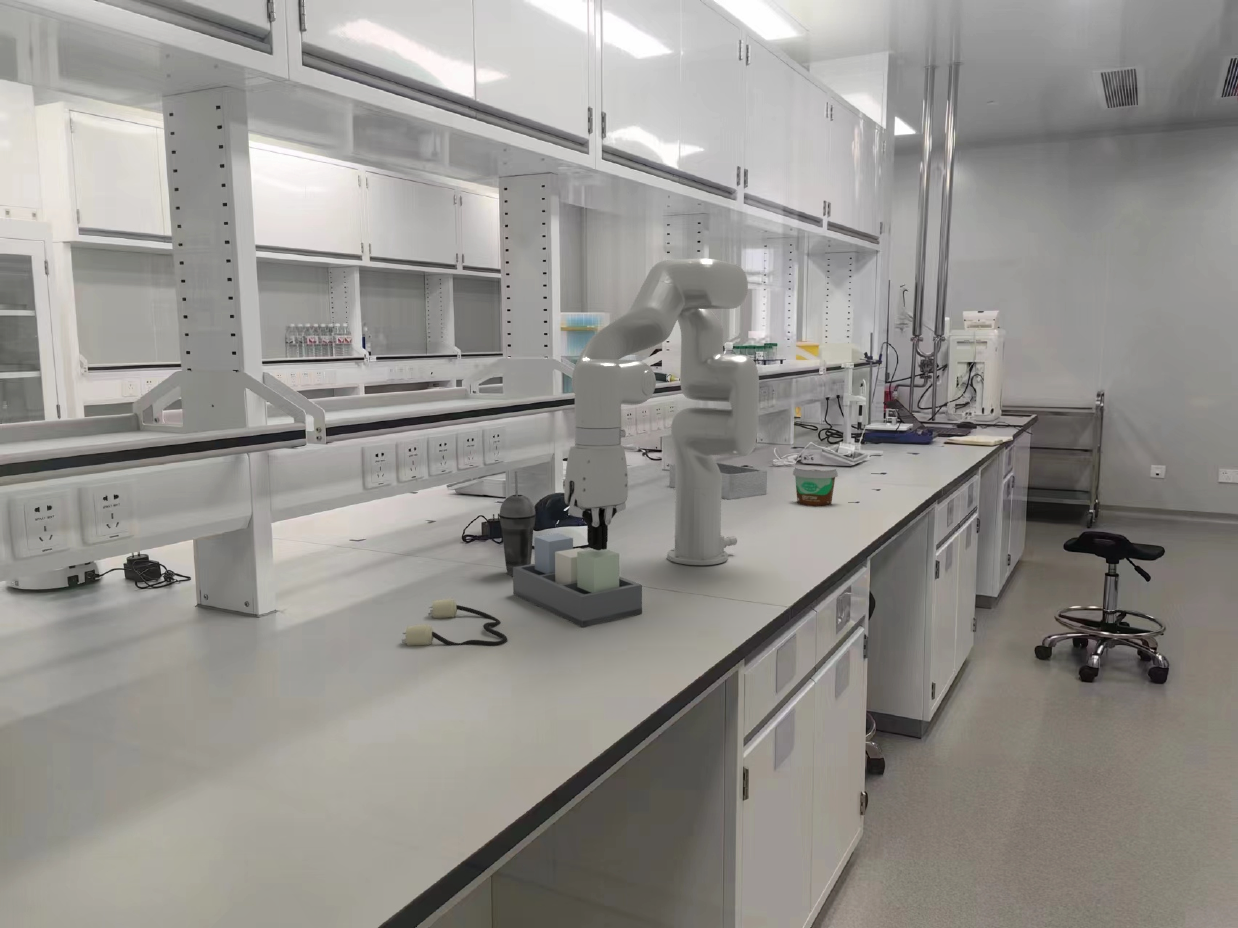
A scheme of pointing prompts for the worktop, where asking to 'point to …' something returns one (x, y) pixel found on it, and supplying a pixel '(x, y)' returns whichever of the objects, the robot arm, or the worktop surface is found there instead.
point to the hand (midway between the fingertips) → (597, 548)
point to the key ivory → (566, 565)
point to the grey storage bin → (735, 481)
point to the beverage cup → (517, 529)
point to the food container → (814, 486)
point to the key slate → (549, 550)
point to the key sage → (597, 570)
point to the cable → (447, 610)
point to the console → (577, 597)
